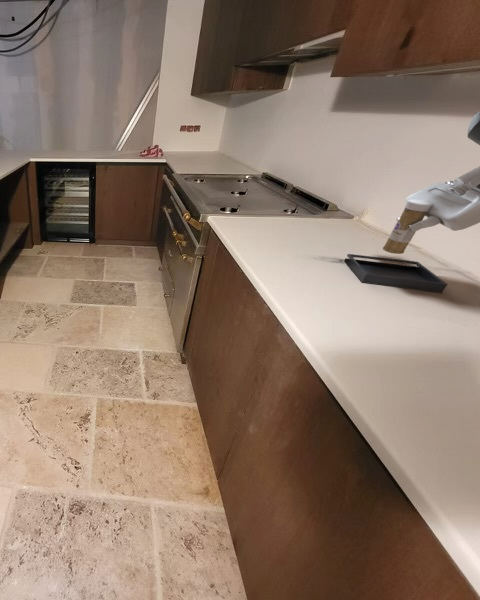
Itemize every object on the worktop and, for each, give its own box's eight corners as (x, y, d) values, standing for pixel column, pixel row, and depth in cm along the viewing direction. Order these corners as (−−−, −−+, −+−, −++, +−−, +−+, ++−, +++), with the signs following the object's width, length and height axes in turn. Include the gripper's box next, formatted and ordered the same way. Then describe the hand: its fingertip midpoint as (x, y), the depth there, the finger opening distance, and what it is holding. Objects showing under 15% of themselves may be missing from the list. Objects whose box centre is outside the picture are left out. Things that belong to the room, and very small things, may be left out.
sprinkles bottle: (377, 247, 89) (403, 198, 82) (394, 247, 89) (421, 198, 82) (391, 254, 85) (419, 203, 78) (408, 254, 85) (438, 203, 78)
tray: (413, 269, 93) (418, 261, 92) (441, 293, 82) (447, 284, 80) (344, 261, 98) (347, 253, 97) (362, 282, 86) (366, 274, 85)
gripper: (443, 170, 83) (379, 205, 91) (504, 188, 67) (420, 229, 74) (453, 189, 85) (390, 222, 92) (516, 211, 68) (432, 249, 76)
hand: (404, 225), depth 83 cm, fingers closed on sprinkles bottle, 4 cm apart
